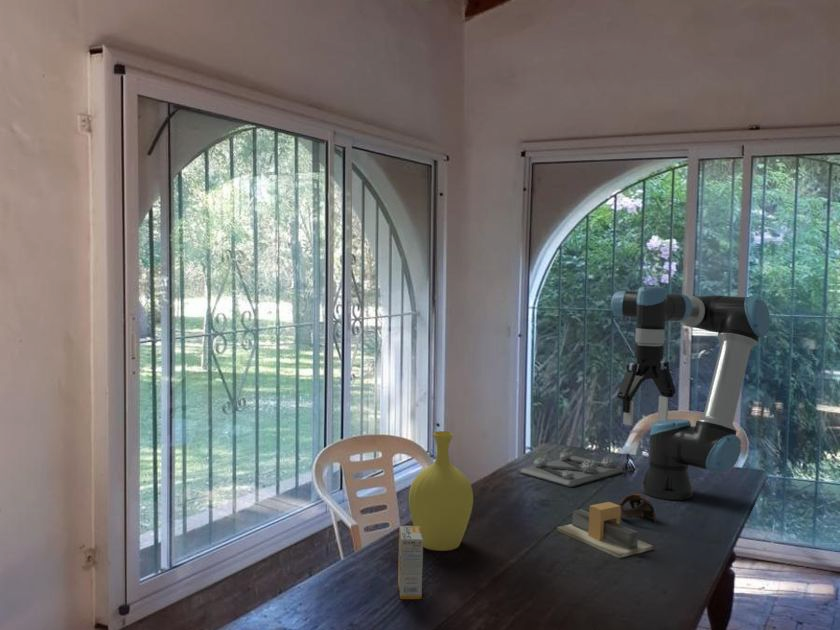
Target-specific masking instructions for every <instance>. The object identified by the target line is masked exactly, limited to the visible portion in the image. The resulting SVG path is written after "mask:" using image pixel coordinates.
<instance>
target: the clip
mask: <svg viewBox="0 0 840 630" xmlns="http://www.w3.org/2000/svg"><path fill="white" fill-rule="evenodd" d="M620 509H621V505H620V504H616V503H614V502H611V501H605V502H602V503H601V502H600V503H595V504H591V505H589V511H588V512H589V532H588V536H590V537H592V538H594V539H597V540H599V541H601V540H603V529H604V521H605V520H610V521H612V522H615V523H617V524H620V525H621V518H620Z"/></svg>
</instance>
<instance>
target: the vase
mask: <svg viewBox="0 0 840 630" xmlns="http://www.w3.org/2000/svg"><path fill="white" fill-rule="evenodd" d="M432 435H433V438H434V440H435V441H434V442H435V444H436V457H435V459H434V462H432V464H430V465H429V466H427V467H426V468H424V469H422V470H421V471H420V472H419V473H418V474H417V475H416V477H415V478H414V479H413V481H412V482H411V484H410V487H409V491H408V507H409V513H410V518H411V521H412V524H413V525H412V526H420V528H421V532H422V537H423V549H424V548H425V549H427V550H430V551H439V552H441V551H443V552H444V551H452V550H456V549H457V548H458V547H459V548H460V545H461V543H462V540H463V538H464V535H465V534H466V533H465V532H466V531H467V527H468V524H469V521H470V518H471V516H472V511H473V506H474V492H473V491H474V490H473V488H472V485H471V483H470V480H469V479H468V478H467V477H466V475H465V474H464V473H463V472H462V471H461V470H459V469H458V468H457V467H455V466H454V465H453V464H452V463H451V461H450V457H449V449H450V448H449V447H450V443H451V441H452V438H453V436H454V434H453V432H450V431H443V430H442V431H441V430H440V431H434V433H433V434H432Z"/></svg>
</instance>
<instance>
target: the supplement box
mask: <svg viewBox="0 0 840 630" xmlns="http://www.w3.org/2000/svg"><path fill="white" fill-rule="evenodd" d="M398 530H399V531H398V533H399V534H398V557H397V558H398V562H397V563H398V564H397V565H398V566H397V567H398V568H397V569H398V570H397V571H398V573H397V586H398V590H399V598H400V599H401V600H420V599H422V598H423V597H422V595H423V590H422V589H423V564H424V562H423V560H424V559H423V558H424V547H423V537H422V532H421V528H420V526H414V525H400V526H399V529H398Z"/></svg>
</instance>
